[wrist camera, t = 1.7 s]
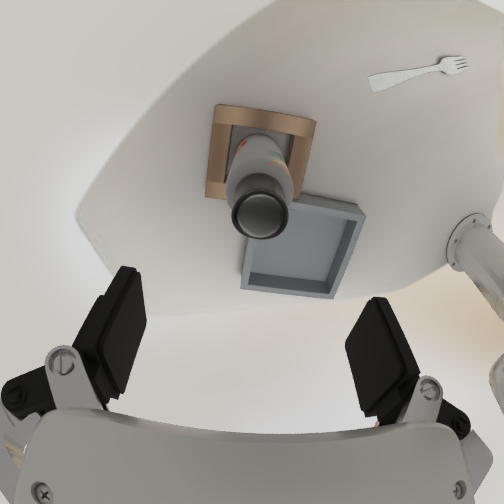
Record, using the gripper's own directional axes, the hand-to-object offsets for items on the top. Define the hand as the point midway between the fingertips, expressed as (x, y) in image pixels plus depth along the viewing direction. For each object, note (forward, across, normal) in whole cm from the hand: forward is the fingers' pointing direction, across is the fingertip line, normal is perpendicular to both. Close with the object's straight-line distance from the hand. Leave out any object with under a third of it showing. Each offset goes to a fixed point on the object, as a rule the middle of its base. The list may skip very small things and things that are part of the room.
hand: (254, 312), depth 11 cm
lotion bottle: (+29, -1, 0) cm, 29 cm away
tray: (+28, -9, +12) cm, 32 cm away
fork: (+29, -22, -19) cm, 41 cm away
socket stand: (+28, -1, 0) cm, 28 cm away
